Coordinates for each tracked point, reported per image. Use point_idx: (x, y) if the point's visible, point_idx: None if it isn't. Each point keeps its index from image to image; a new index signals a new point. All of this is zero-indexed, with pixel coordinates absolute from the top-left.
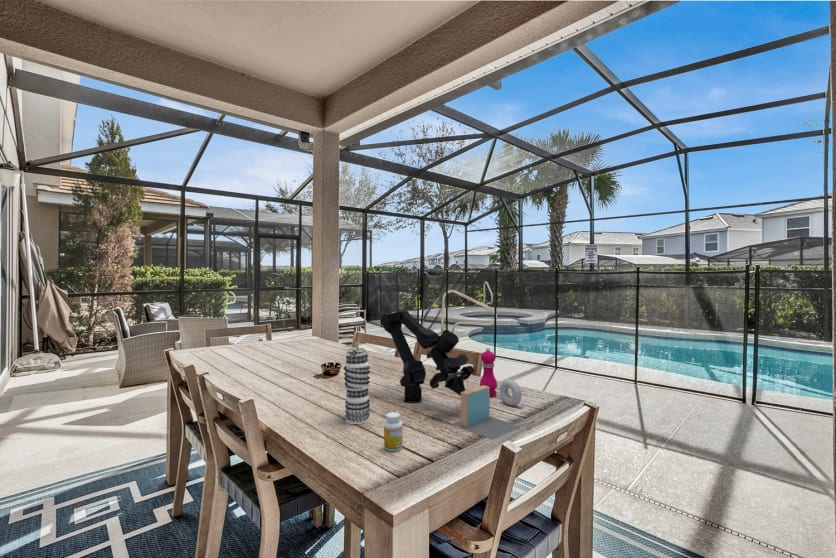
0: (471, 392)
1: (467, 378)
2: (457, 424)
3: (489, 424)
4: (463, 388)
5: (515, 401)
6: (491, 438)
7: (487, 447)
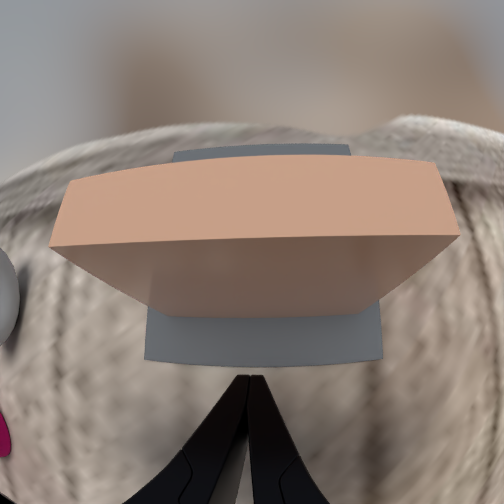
0: (364, 156)
1: (8, 498)
2: (366, 333)
3: None
4: (223, 433)
5: (11, 267)
6: (343, 150)
7: (386, 138)
